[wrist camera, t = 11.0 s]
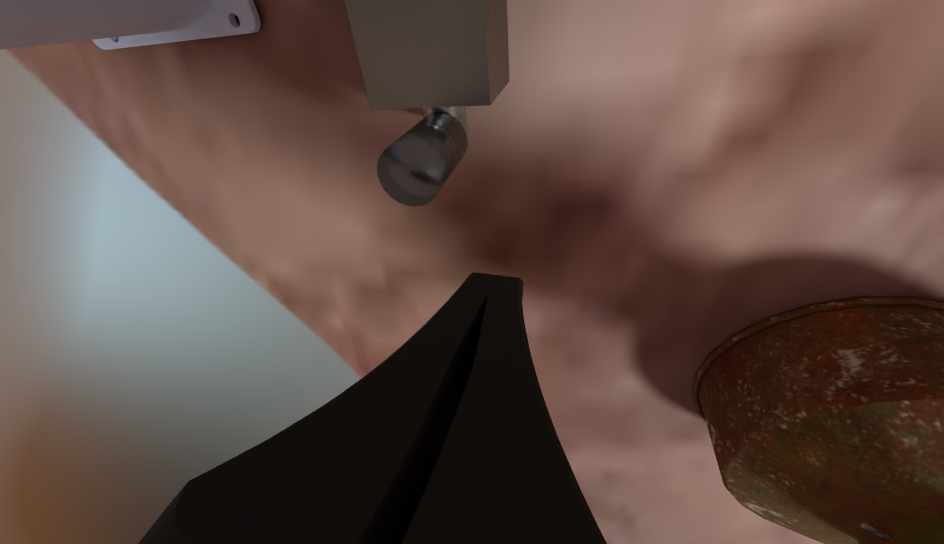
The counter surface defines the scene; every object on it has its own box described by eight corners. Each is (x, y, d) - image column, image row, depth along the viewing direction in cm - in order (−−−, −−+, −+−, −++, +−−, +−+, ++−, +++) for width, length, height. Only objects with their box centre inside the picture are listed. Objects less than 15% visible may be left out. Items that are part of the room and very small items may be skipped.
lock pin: (392, -115, 11) (288, -170, 7) (455, -128, 11) (380, -194, 7) (434, 152, 16) (385, 205, 12) (479, 151, 15) (443, 207, 12)
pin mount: (394, -5, 14) (343, -3, 11) (505, -20, 13) (482, -21, 10) (411, 87, 16) (370, 110, 13) (509, 81, 15) (490, 105, 12)
